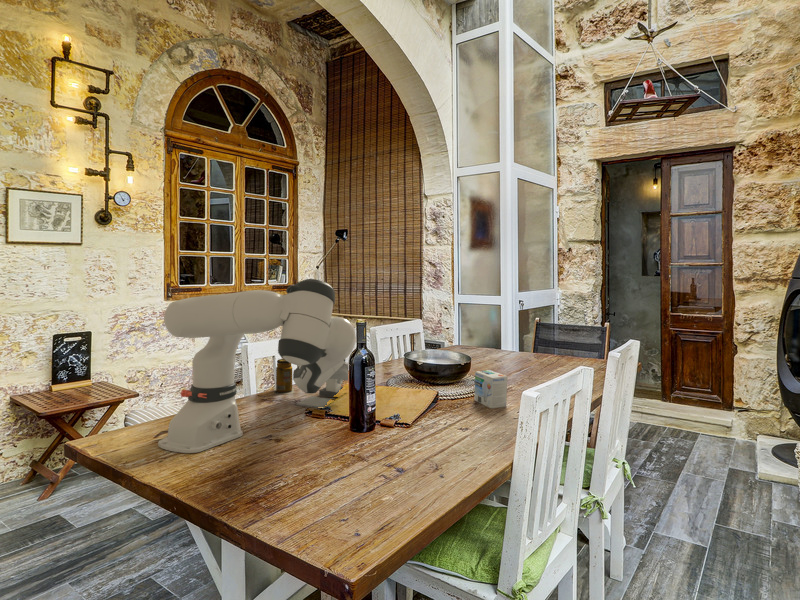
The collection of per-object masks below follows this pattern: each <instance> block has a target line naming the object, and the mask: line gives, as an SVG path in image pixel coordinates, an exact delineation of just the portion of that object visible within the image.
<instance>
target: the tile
mask: <svg viewBox="0 0 800 600" xmlns="http://www.w3.org/2000/svg"><path fill="white" fill-rule="evenodd" d="M330 399H332V397H324V396H314V395H311V396H309V397H307V398H304V399H303V400H300V401H298V402H297V403H295V405H296V406H300V407H307V408H313V409H319V408H318V407H324V406H325V405H327V402H328V401H329V400H330ZM324 408H325V407H324Z"/></svg>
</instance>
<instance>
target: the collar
mask: <svg viewBox="0 0 800 600" xmlns="http://www.w3.org/2000/svg"><path fill="white" fill-rule="evenodd" d="M343 387H344V386H341V389H342V388H343ZM338 392H339V391H338ZM338 392H332V391H326V386H325V387H322V388H320V389H319V390H318V394H319V395H318V397H324V398H333V396H334V395H336V394H337V393H338Z"/></svg>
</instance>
